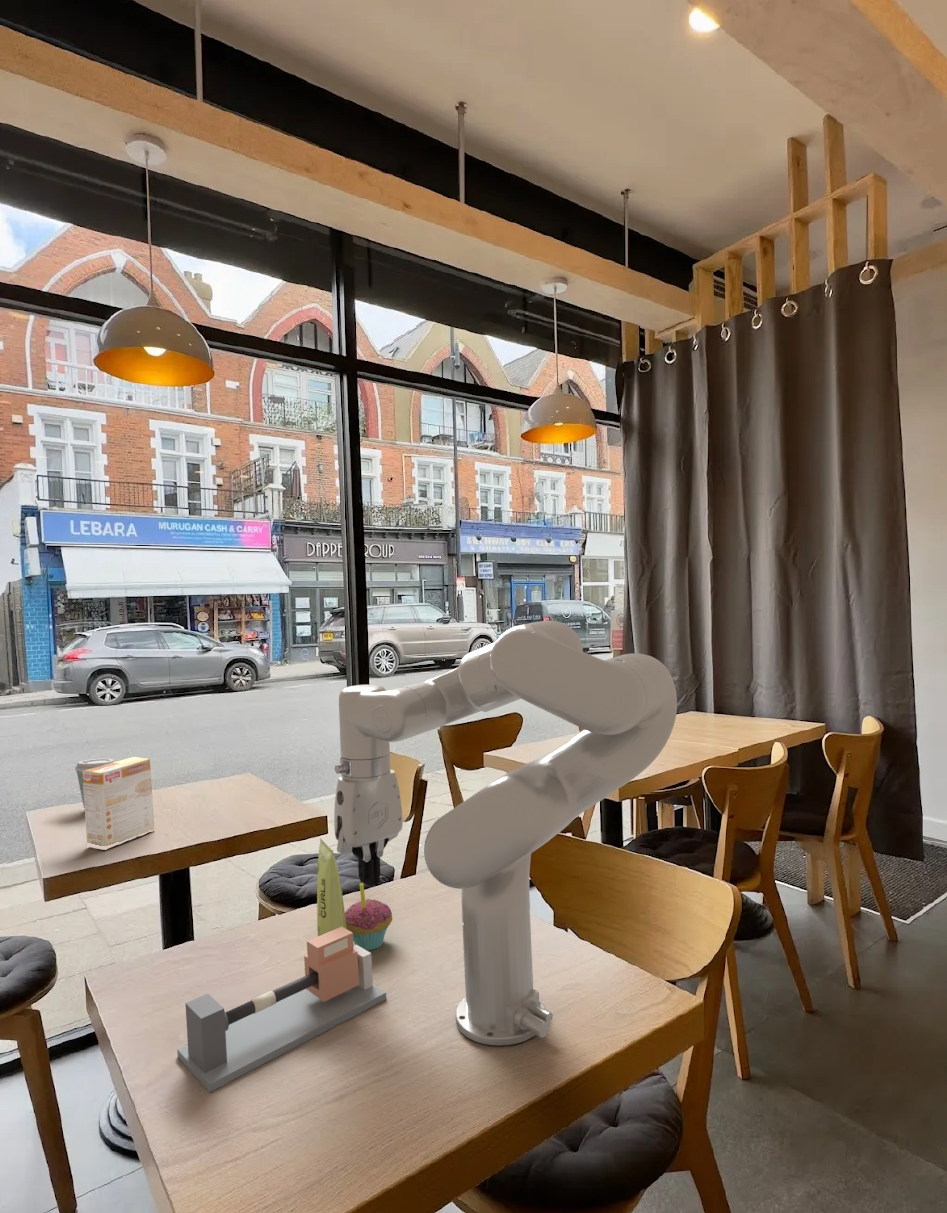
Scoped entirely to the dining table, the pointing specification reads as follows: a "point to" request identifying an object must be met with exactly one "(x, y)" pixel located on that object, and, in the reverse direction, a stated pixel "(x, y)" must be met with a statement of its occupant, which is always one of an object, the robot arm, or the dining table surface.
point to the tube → (329, 892)
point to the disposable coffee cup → (86, 766)
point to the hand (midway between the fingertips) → (369, 882)
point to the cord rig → (267, 1025)
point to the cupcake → (368, 921)
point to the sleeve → (332, 963)
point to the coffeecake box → (118, 801)
